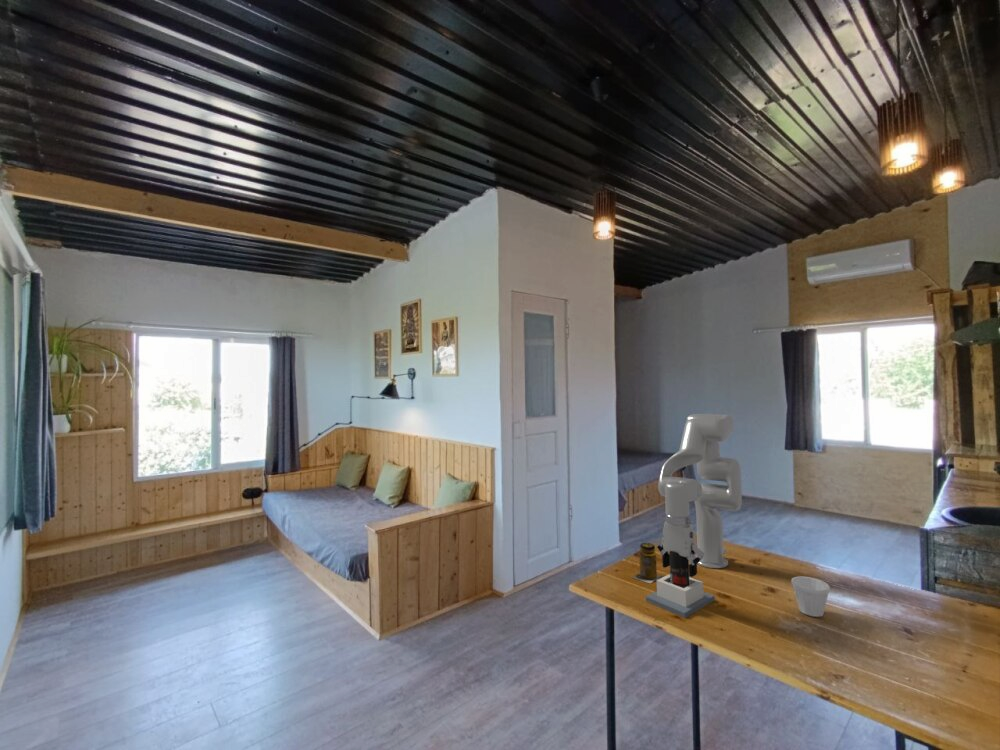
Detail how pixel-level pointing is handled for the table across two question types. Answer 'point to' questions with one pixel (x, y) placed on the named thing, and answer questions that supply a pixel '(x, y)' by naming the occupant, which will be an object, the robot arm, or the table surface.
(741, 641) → the table surface
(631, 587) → the table surface
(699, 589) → the socket
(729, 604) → the table surface
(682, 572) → the deodorant
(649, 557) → the condiment
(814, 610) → the cup
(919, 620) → the table surface
